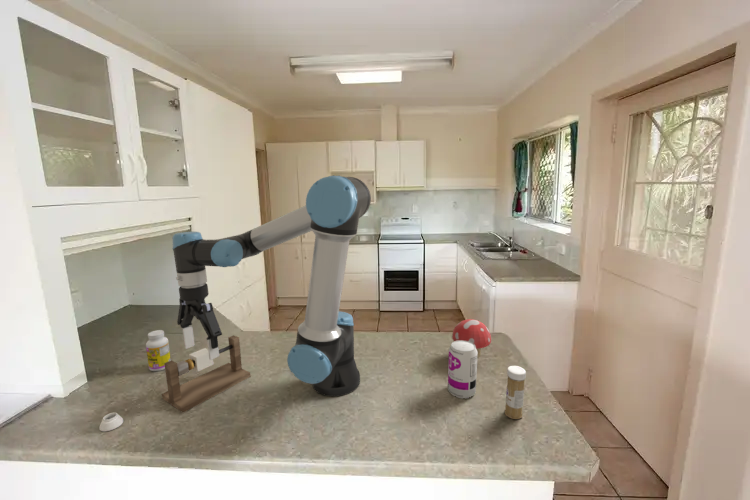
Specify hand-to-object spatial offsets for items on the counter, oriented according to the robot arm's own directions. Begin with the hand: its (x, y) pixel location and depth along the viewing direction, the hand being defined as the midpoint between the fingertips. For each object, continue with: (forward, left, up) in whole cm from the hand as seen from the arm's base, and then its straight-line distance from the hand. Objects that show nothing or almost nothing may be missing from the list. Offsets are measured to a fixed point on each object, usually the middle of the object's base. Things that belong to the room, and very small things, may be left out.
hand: (201, 352), depth 105 cm
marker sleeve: (0, 0, -5) cm, 5 cm away
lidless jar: (+5, +23, -13) cm, 27 cm away
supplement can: (-67, -42, -13) cm, 80 cm away
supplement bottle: (+26, +1, -13) cm, 29 cm away
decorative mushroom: (-63, -62, -13) cm, 89 cm away
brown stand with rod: (0, -1, -12) cm, 12 cm away
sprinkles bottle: (-82, -40, -13) cm, 92 cm away
